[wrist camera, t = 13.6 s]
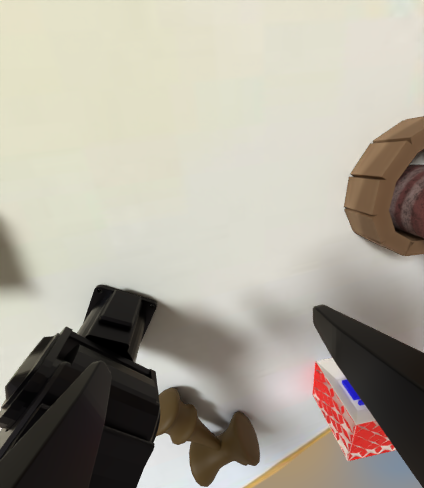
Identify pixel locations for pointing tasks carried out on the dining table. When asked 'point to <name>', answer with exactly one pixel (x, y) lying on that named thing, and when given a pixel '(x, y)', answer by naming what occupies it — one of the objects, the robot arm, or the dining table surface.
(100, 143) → the dining table surface
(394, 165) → the walnut ring
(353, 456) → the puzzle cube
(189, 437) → the kendama
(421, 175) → the can
